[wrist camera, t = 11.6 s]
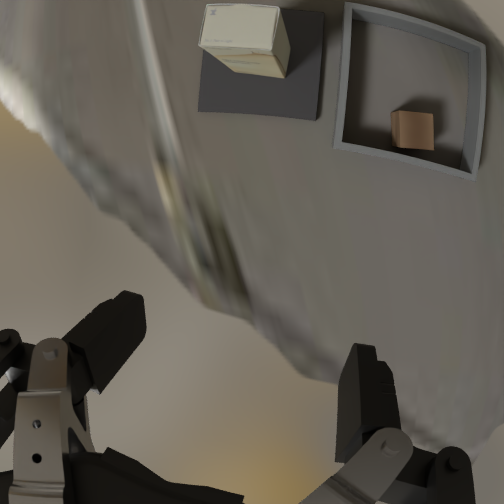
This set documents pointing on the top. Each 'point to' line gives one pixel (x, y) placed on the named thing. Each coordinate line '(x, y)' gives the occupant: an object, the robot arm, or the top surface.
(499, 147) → the top surface
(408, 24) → the parts bin
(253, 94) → the place mat
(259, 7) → the skincare box
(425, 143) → the walnut block
